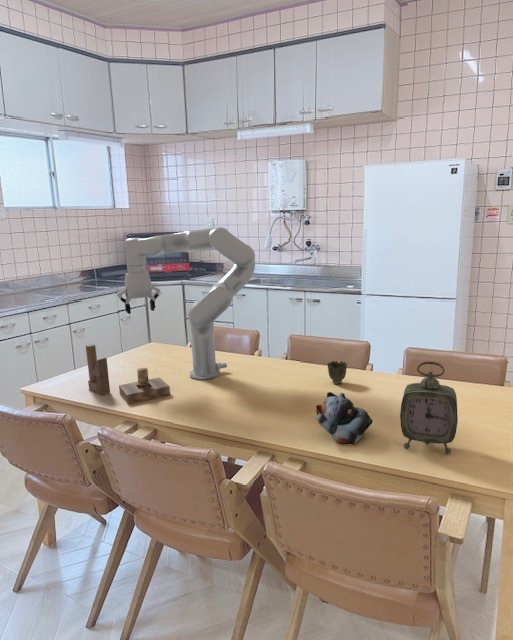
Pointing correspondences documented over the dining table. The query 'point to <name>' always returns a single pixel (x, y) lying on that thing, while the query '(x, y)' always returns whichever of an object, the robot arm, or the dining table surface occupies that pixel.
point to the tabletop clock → (429, 411)
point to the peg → (143, 377)
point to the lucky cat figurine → (342, 418)
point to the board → (144, 390)
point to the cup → (337, 371)
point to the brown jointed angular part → (97, 371)
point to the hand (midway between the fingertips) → (140, 311)
